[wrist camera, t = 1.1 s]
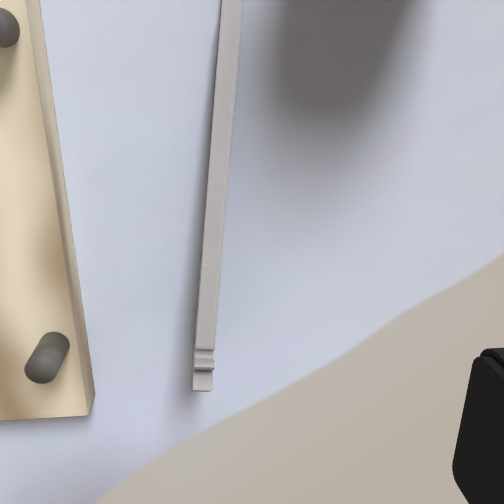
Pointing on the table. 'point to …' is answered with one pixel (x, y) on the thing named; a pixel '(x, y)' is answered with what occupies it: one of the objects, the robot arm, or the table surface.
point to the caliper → (216, 193)
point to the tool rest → (36, 238)
